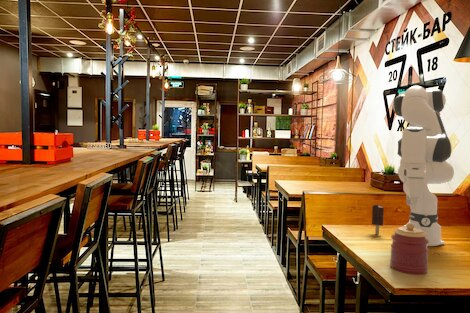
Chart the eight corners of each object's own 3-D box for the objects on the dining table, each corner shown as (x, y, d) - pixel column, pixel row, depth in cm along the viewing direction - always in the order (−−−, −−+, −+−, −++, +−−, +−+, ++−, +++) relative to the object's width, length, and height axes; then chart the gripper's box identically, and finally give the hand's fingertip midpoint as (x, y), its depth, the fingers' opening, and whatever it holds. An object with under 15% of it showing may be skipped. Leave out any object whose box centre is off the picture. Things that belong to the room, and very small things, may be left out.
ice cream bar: (382, 234, 196) (383, 205, 195) (382, 235, 195) (383, 205, 194) (371, 233, 199) (373, 204, 198) (371, 233, 197) (372, 204, 196)
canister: (432, 277, 138) (435, 228, 137) (394, 274, 140) (396, 226, 139) (421, 264, 151) (423, 220, 150) (386, 262, 153) (388, 218, 152)
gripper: (400, 167, 154) (398, 202, 155) (407, 172, 135) (405, 211, 136) (417, 168, 152) (415, 203, 153) (427, 173, 133) (425, 213, 134)
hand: (411, 207), depth 144 cm, fingers open, 8 cm apart
